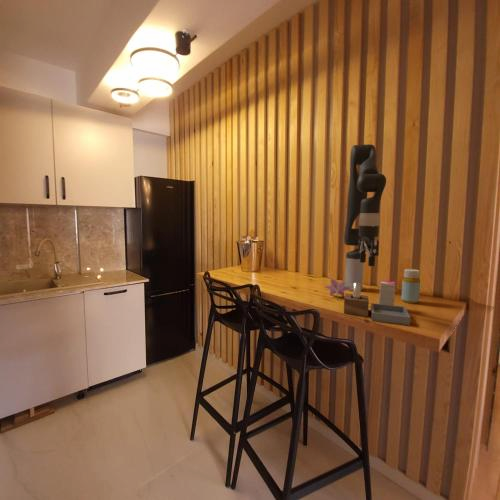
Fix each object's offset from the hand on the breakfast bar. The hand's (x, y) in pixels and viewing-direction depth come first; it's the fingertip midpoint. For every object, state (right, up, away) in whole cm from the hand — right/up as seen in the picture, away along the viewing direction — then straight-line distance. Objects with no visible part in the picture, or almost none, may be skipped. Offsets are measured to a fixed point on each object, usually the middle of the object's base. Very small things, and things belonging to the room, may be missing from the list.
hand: (366, 264), depth 113 cm
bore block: (-4, -20, +1) cm, 20 cm away
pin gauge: (-4, -20, +1) cm, 20 cm away
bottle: (+26, -19, +15) cm, 36 cm away
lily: (-5, -18, +21) cm, 28 cm away
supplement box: (+11, -19, +5) cm, 23 cm away
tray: (+6, -20, -6) cm, 22 cm away
